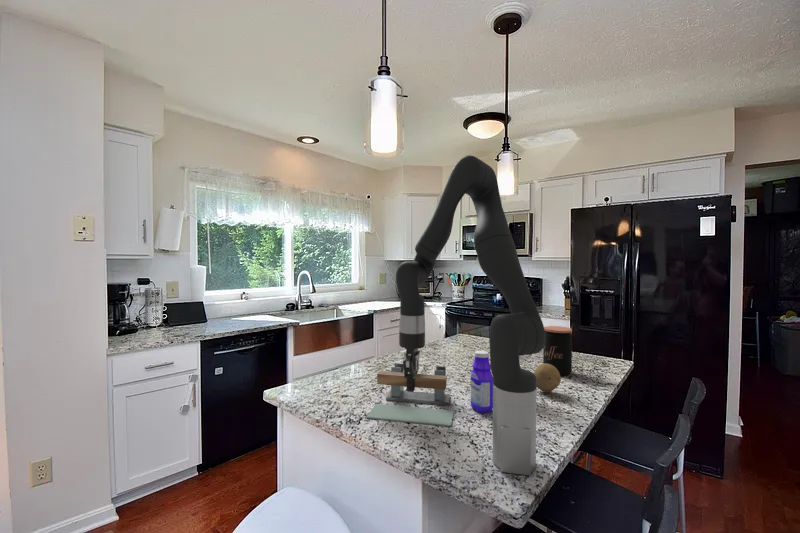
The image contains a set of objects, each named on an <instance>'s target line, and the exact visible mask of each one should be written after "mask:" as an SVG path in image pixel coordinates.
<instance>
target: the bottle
mask: <svg viewBox="0 0 800 533" xmlns="http://www.w3.org/2000/svg"><path fill="white" fill-rule="evenodd" d="M471 367H472V370H471V372H470V406H471V408H472V409H473V410H475V411H476V412H479V413H481V414H483V413H486V414H487V413H489V412H493V375H492V371H491V366H490V352H488V351H486V350H475V352H474V360H473V364H472V365H471Z"/></svg>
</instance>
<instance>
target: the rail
mask: <svg viewBox="0 0 800 533" xmlns="http://www.w3.org/2000/svg"><path fill="white" fill-rule="evenodd" d="M408 374H411V373H409V372H408ZM376 375H377V376H376V384H377V385H383V386H391V385H393V386H404V388H405V387H406V388H407V378H405V377H404V373H400V372H391V371H385V370H384V371H383V370H379V372H378V373H377V374H376ZM447 378H448V376H447V375H446V376H440V375H434V374H424V373H417V374H415V387H416V388H418V389H419V388H420V389H431V390H434V389H441V390H445V391H446V390H447V384H448V383H447V381H448V380H447Z"/></svg>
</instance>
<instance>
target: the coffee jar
mask: <svg viewBox="0 0 800 533" xmlns="http://www.w3.org/2000/svg"><path fill="white" fill-rule="evenodd" d="M544 329H545V335H546V341H545V346H544V348H543V349H542V351H543V355H542V358H543V359H542V360H543V361H542V362H543V363H542V364H544V363H546V364H551V365H553V366H554V367H555V368H556V369H557V370H558V371H559V374H560V377H569V375H571V373H572V372H573V368H572V367H573V365H572V364H573V335H572V332H573V329H572V328H570V327H567V326H561V325H560V326H559V325H557V326H556V325H547V326H544Z"/></svg>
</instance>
